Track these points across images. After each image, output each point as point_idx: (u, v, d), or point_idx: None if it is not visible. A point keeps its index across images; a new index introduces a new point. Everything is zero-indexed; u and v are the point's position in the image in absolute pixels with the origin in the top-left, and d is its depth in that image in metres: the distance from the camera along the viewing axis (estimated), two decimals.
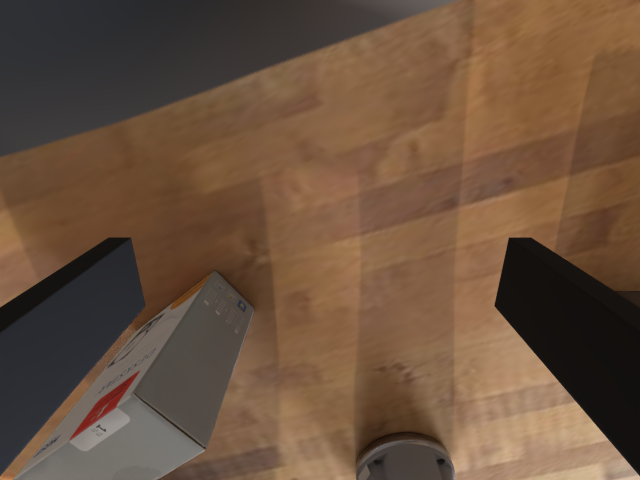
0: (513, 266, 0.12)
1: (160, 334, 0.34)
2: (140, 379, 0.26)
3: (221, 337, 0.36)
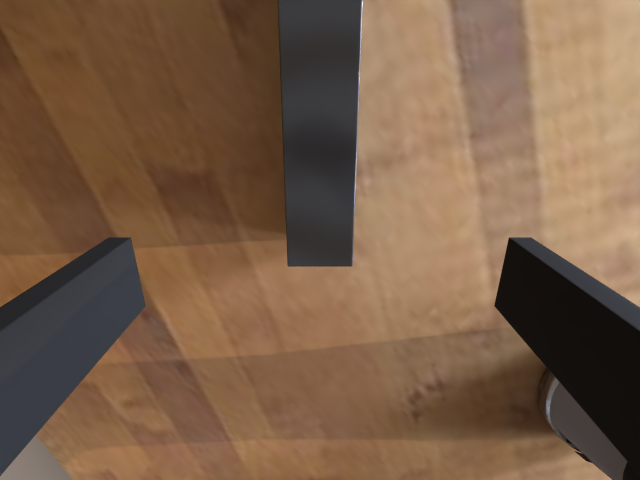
0: (513, 266, 0.12)
1: None
2: None
3: None
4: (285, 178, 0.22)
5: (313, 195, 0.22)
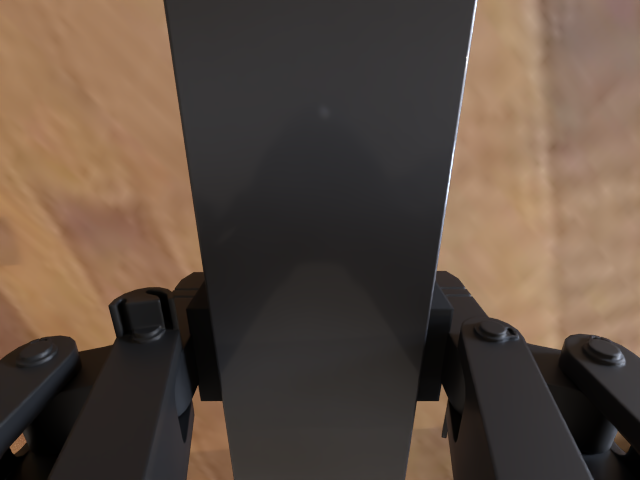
0: None
1: None
2: None
3: None
4: (215, 335, 0.07)
5: (300, 376, 0.08)
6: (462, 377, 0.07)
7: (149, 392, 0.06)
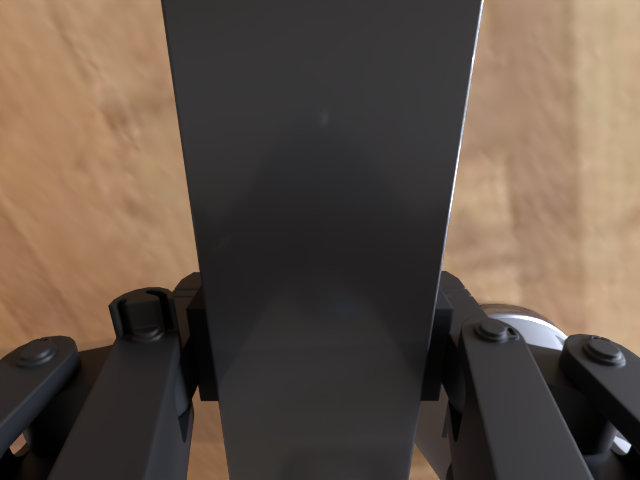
0: None
1: None
2: None
3: None
4: (211, 335, 0.07)
5: (299, 378, 0.07)
6: (462, 377, 0.07)
7: (149, 392, 0.06)
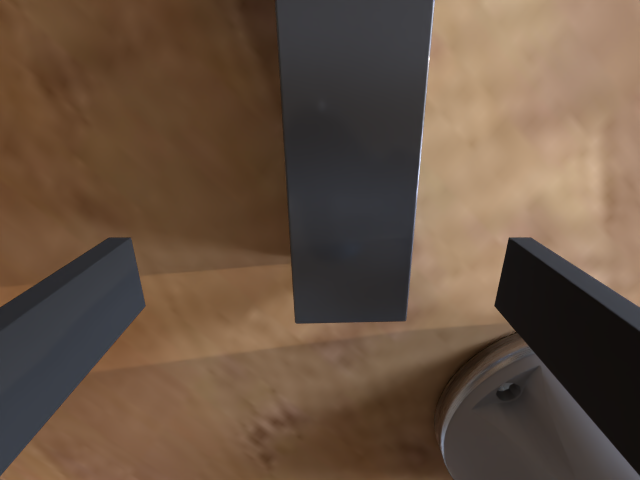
0: (513, 266, 0.12)
1: None
2: None
3: None
4: (287, 172, 0.12)
5: (339, 203, 0.12)
6: None
7: None
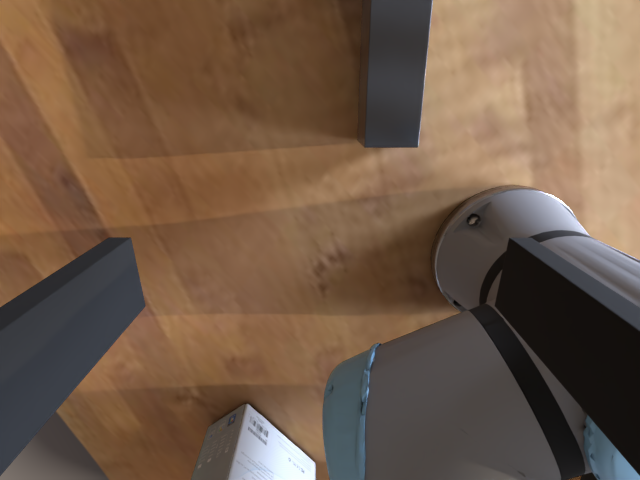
0: (513, 266, 0.12)
1: None
2: None
3: (212, 476, 0.39)
4: (368, 65, 0.27)
5: (390, 81, 0.27)
6: None
7: None
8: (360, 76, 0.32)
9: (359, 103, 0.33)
